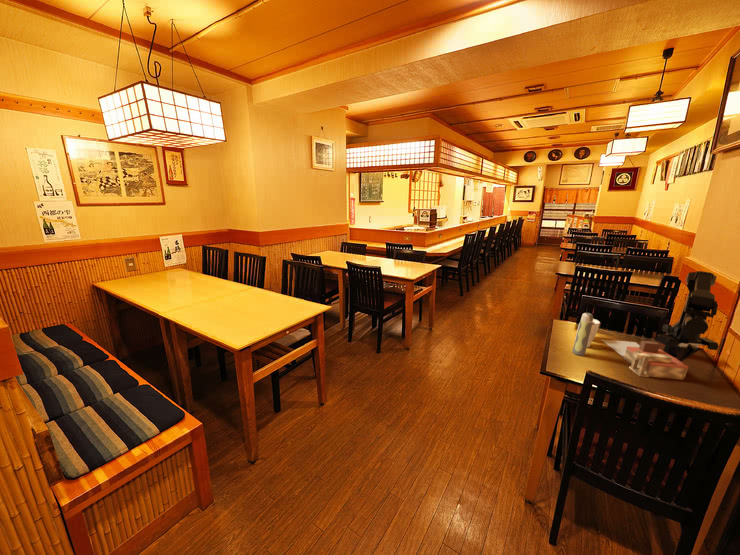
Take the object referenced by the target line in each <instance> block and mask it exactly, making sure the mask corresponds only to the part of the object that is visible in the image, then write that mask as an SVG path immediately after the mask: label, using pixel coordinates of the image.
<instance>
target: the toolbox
mask: <svg viewBox="0 0 740 555" xmlns="http://www.w3.org/2000/svg"><path fill="white" fill-rule="evenodd" d="M636 352H637V353H641V351H639V350H636ZM632 355H633V353H632V352H631V351H629V350H628V349H626V352H625V355H624V356H623V359H624V360H625V361H626V362H627V363H629V364H631V365H630V366H628V368H629V369H630V370H631V371H632V372H633V373H635V374H637V376H639V377H641V378H642V377H643V378H649V377H651V378H653V377H654V378H661V379H663V378H664V379H675V380H685V378H686V375H687V373H688V370H689V368H688V369H686V368H674V367H663V366H651V365H649V364H648V360H649V357H648V356H645V355H643V358H642V360H635V359H634V358H633V357H632Z"/></svg>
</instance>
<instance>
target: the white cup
mask: <svg viewBox="0 0 740 555" xmlns="http://www.w3.org/2000/svg"><path fill="white" fill-rule="evenodd" d="M592 322H594V323H595V330H594V334H593V338H592V341H591V342H593V341H594V340H595V338H596V336H597V333H598V329H599V327H600V324H601V322H600V321H599V320H598V319H595V318H593V321H592Z"/></svg>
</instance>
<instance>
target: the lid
mask: <svg viewBox="0 0 740 555" xmlns="http://www.w3.org/2000/svg"><path fill="white" fill-rule="evenodd" d="M639 345H640V346H639V347H627V348H626V349H628V350H629V351H631V352H632V353H633V352H636V350H639V351H641V353H649V354H661V355H668V356H669V357H671V358H672V359H671V362H670V363H666V362H654V361H648V364H649V365H651V366H663V367H674V368H686V369H688V370H689V365H687V364H685V363H684V362H683V361H679V360H678V358H677V357H673V356H671V355H669V354H668V353H666V352H664V351H663V350H661V349H662V348H660V347H661V344H660V343H659V342H658V341H650V340H641V341H640V343H639Z"/></svg>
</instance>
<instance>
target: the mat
mask: <svg viewBox="0 0 740 555" xmlns="http://www.w3.org/2000/svg"><path fill="white" fill-rule="evenodd" d="M601 341H602V342H603V343H604V344H605V345H607V346H609V347H610V348H611V349H613V350H614V352H616V353H618V354H619V355H620V356H622V357H624V355H625V352H626V348H627V347H639V346H640V343H639V344H638V343H637V342H636V341H626V340H614V339H613V340H612V339H601Z"/></svg>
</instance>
